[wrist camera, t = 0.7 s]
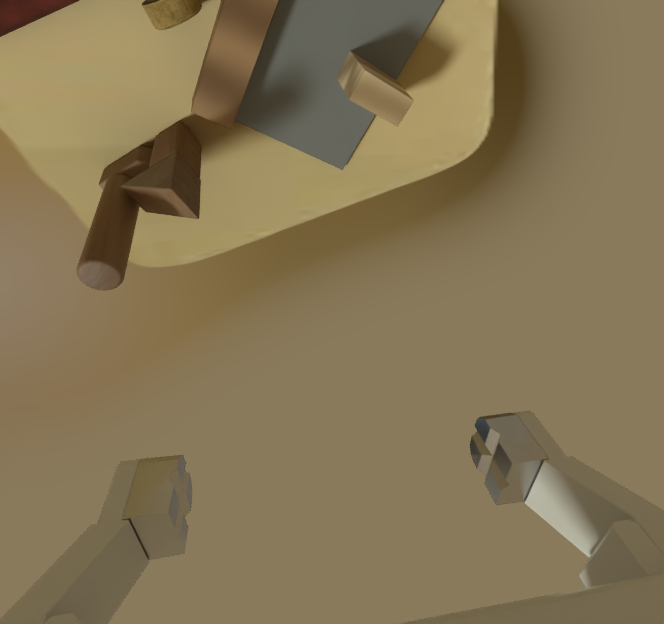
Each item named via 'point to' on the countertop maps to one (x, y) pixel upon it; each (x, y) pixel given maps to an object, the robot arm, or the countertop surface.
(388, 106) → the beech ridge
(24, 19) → the gavel
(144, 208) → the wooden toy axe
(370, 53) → the slate mat
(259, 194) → the countertop surface
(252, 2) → the walnut bar
